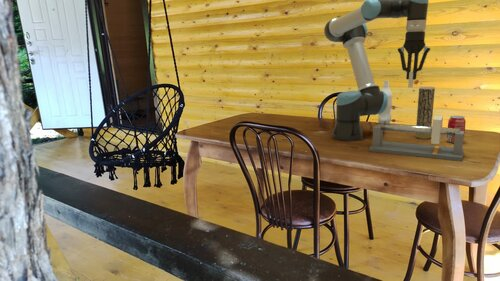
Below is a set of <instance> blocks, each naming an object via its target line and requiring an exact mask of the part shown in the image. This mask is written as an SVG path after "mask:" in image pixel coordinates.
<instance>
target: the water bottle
mask: <svg viewBox="0 0 500 281" xmlns="http://www.w3.org/2000/svg"><path fill="white" fill-rule="evenodd" d="M382 86H383V88H382V89H381V91H383V92H384V93H386V95H387V98H388V104H387V107H386V109H385V111H384V112H382V113H380V114H378V117H377V118H378V119H377V121H378V123H383V124H391V121H392V113H391V111H392V106H393V105H392V103H393V102H392V101H393V92H392V90H391V89H390V81H389V80H383V85H382Z"/></svg>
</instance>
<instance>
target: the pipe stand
mask: <svg viewBox="0 0 500 281" xmlns="http://www.w3.org/2000/svg"><path fill="white" fill-rule="evenodd" d="M383 134H384V130H381V127H378V124H376V125H374V126H373V128H372V145H371V146H370V147H368V152H372V153H383V154H391V155H399V156H400V155H401V156H411V157H418V158H419V157H420V158H428V159H439V160H447V161H456V162H463V157H464V150H465V148H463V147H464V146H463V145H464V140H463V138H464V139H465V133H464V131H460V133H455V140H454V143H453V147H450V146H449V147H448V146H439V145H428V144H427V145H426V144H417V143H415V144H414V143H407V142H405V143H404V142H394V141H383V138H384V137H383V136H384V135H383Z"/></svg>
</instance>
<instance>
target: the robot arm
mask: <svg viewBox="0 0 500 281" xmlns="http://www.w3.org/2000/svg"><path fill="white" fill-rule="evenodd" d="M429 3H430V2H429V0H364V1H363V3H362V4H361V6H360V7H358V8H356V9H354V10H353V11H351V12H349V13H346V14H345V15H343V16H340V17H334V18H332V19H330V20H329V21H328V22H327V23H326V24H324V30H323V33H324V37H325V38H326V39H327V40H328V41H329V42H332V43H342V46H343V48H344V49H346V50H347V54H348V57H349V60H350V64H351V68H352V71H353V74H354V77H355V81H356V86H357V90H346V91H343V92H340V93H339V94H337V97H336V102H335V104H336V106H335V107H336V109H335V110H336V111H335V112H336V116H335V117H336V119H335V125H334V128H333V130H332V138H333V139H335V140H339V141H346V142H347V141H348V142H349V141H359V140H362V139H364V138H363V137H364V132H363V129H362V127H361V123H360V122H361V117H364V116H376V115H379V114H380V113H382V112H384V111H385V109H386V107H387V104H388V98H387V95H386V93H384V92H383V91H382V90H381V89H380V86H379V85H377V84H376V83H375V80H374V76H373V73H372V69H371V65H370V63H369V58H368V54H367V51H366V48H365V45H364V43H365V42H366V38H367V36H368V27H367V25H366V23H369V22H371V21H374V20H377V19H388V18H389V19H401V18H406V25H405V26H406V27H405V31H406V32H405V39H404V43H403V46H401V47H399V48H397V51H398V53H399V55H400V62H401V68H402V71H404V72H406V77H405V78H406V80H408V83H407V84H408V85H407V87H408V88H413V87H414V80H416V79H417V73H418V72H420V71H422V70H423V67H424V64H425V62H426V58H427V56H428V53H429V52H430V51H431V47H428V46H426V42H425V38H426V37H425V36H426V31H425V30H426V28H427V15H428V7H429ZM422 50H423V53H422V57H421V59H420V63H419V55H420V52H421V51H422ZM405 51H406V52H407V63H406V58H405V53H404V52H405ZM413 54H414V56H413ZM413 57H414V59H412V58H413ZM412 61H413V70H412ZM418 64H419V65H418Z"/></svg>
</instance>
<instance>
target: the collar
mask: <svg viewBox="0 0 500 281" xmlns="http://www.w3.org/2000/svg"><path fill="white" fill-rule="evenodd" d="M443 119H444V116H442V115H434V117H433V118H432V126H431V127H432V134H431V137H430V138H431V140H430V144H433V145H434V144H435V145H439V144H440V142H441V140H442V135H440V131H441V127H442V128H443Z"/></svg>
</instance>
